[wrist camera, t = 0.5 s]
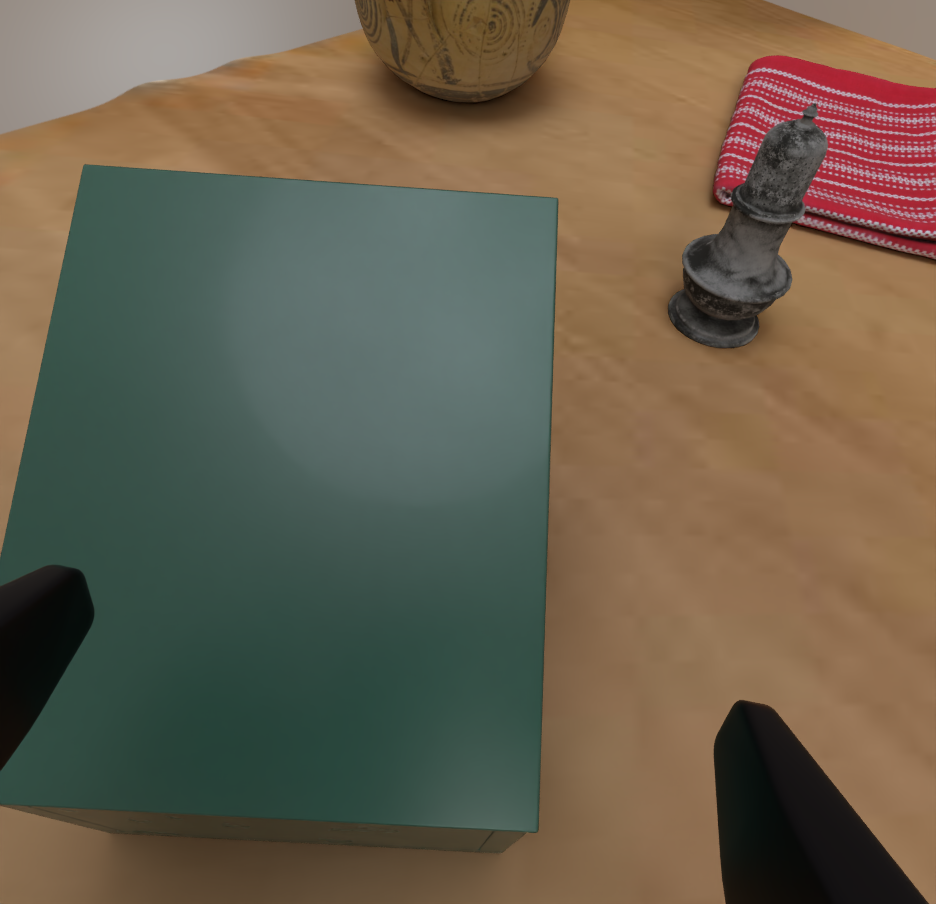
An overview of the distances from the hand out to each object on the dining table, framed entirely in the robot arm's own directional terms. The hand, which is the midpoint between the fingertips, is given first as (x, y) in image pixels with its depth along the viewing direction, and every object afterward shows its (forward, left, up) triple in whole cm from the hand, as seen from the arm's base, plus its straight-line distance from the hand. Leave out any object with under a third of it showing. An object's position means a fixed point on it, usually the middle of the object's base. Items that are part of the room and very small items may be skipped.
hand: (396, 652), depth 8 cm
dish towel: (+52, -16, -15) cm, 57 cm away
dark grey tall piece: (+29, -8, -15) cm, 34 cm away
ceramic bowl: (+52, +15, -15) cm, 56 cm away
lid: (+5, +5, -5) cm, 8 cm away
